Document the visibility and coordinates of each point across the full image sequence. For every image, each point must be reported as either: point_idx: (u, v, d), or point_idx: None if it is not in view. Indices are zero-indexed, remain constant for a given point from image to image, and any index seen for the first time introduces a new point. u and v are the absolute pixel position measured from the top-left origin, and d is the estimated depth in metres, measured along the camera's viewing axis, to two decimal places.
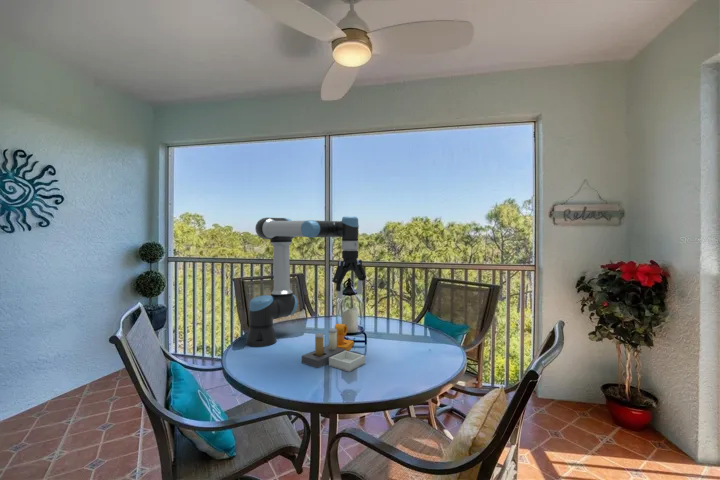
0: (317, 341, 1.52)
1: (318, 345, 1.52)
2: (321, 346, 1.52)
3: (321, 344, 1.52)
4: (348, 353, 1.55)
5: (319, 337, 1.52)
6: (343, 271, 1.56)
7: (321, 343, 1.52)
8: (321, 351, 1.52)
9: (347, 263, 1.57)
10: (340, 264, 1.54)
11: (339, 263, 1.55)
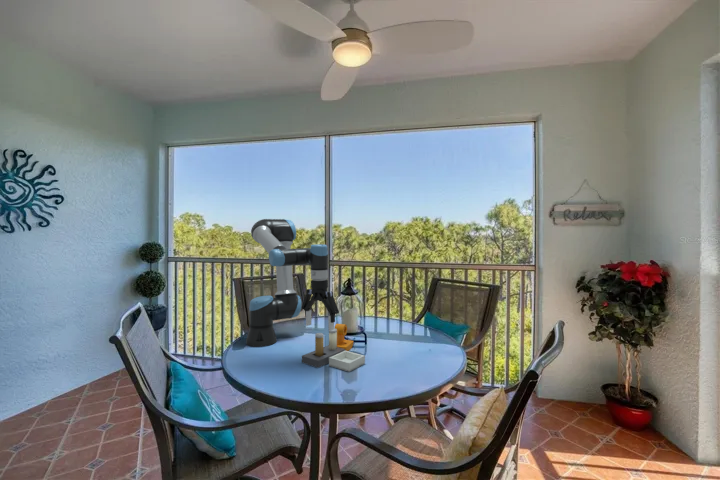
0: (317, 341, 1.52)
1: (318, 345, 1.52)
2: (321, 346, 1.52)
3: (321, 344, 1.52)
4: (348, 353, 1.55)
5: (319, 337, 1.52)
6: None
7: (321, 343, 1.52)
8: (321, 351, 1.52)
9: (312, 292, 1.54)
10: None
11: None
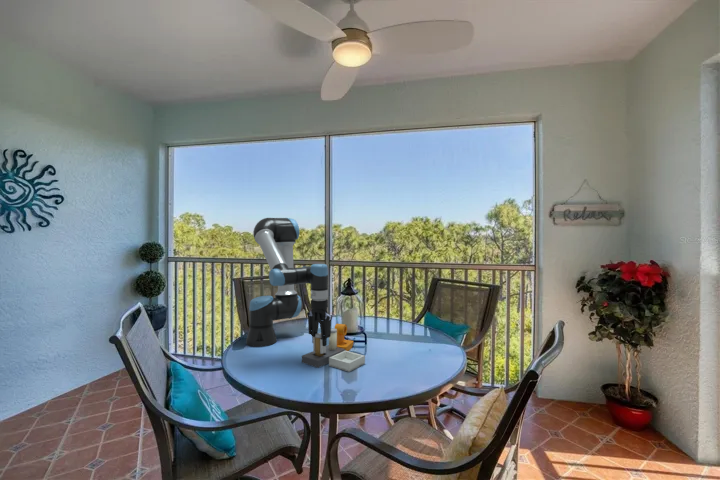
0: (317, 341, 1.52)
1: (318, 345, 1.52)
2: None
3: None
4: (348, 353, 1.55)
5: (319, 337, 1.52)
6: None
7: None
8: None
9: (312, 311, 1.54)
10: None
11: None
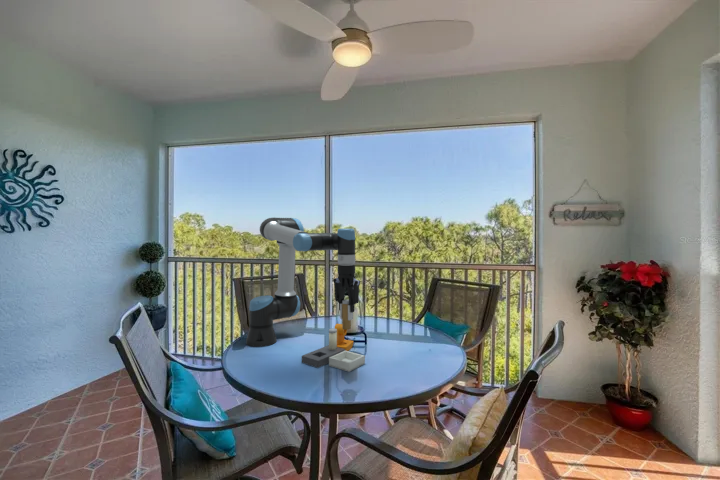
0: (344, 307, 1.47)
1: (345, 311, 1.47)
2: None
3: None
4: (348, 353, 1.55)
5: (346, 303, 1.47)
6: None
7: None
8: None
9: (339, 277, 1.49)
10: None
11: None
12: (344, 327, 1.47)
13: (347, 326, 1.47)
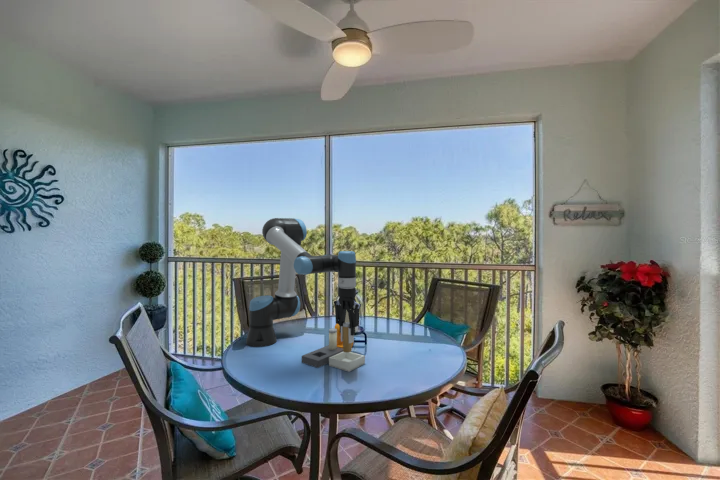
0: (345, 330, 1.47)
1: (346, 334, 1.47)
2: None
3: None
4: (348, 353, 1.55)
5: (347, 326, 1.47)
6: None
7: None
8: None
9: (340, 300, 1.49)
10: None
11: None
12: (345, 350, 1.47)
13: (347, 349, 1.47)
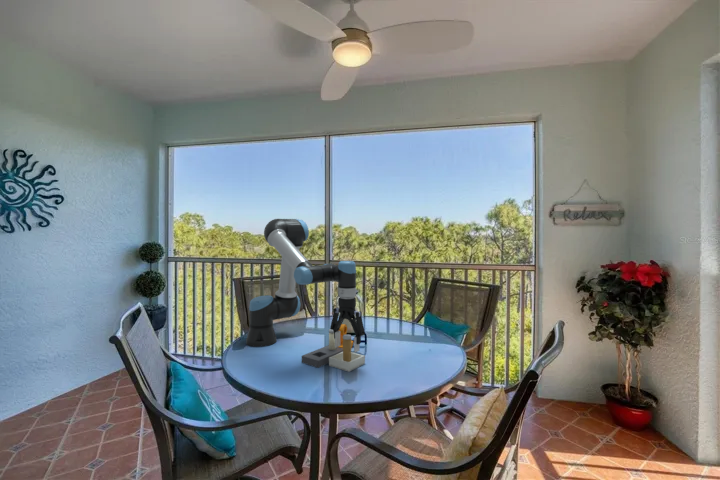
0: (345, 343, 1.47)
1: (346, 347, 1.47)
2: (349, 348, 1.48)
3: (349, 346, 1.48)
4: None
5: (347, 339, 1.47)
6: None
7: (349, 345, 1.48)
8: (349, 353, 1.48)
9: (340, 310, 1.50)
10: None
11: None
12: None
13: (347, 361, 1.47)
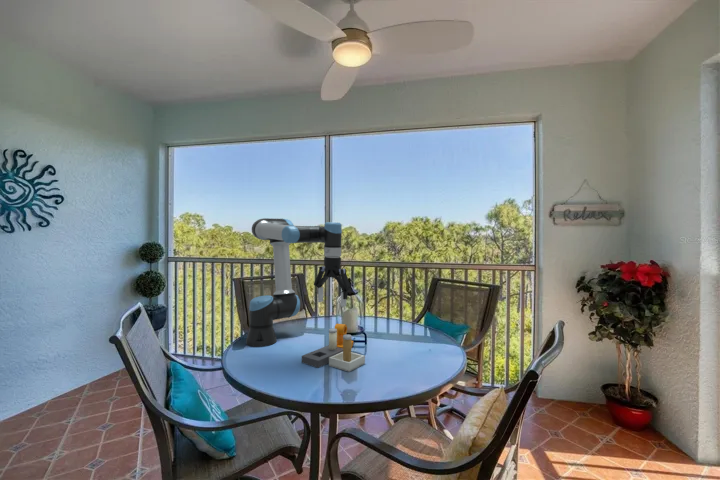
0: (345, 343, 1.47)
1: (346, 347, 1.47)
2: (349, 348, 1.48)
3: (349, 346, 1.48)
4: None
5: (347, 339, 1.47)
6: None
7: (349, 345, 1.48)
8: (349, 353, 1.48)
9: (325, 269, 1.56)
10: None
11: None
12: None
13: (347, 361, 1.47)
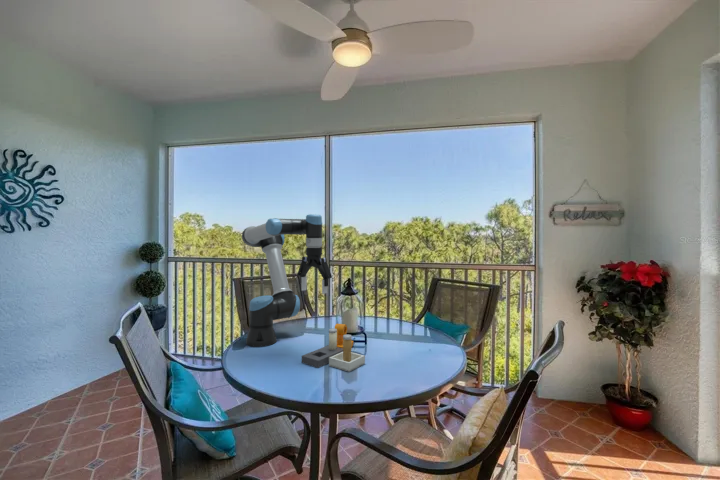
0: (345, 343, 1.47)
1: (346, 347, 1.47)
2: (349, 348, 1.48)
3: (349, 346, 1.48)
4: None
5: (347, 339, 1.47)
6: None
7: (349, 345, 1.48)
8: (349, 353, 1.48)
9: (307, 259, 1.65)
10: None
11: None
12: None
13: (347, 361, 1.47)
